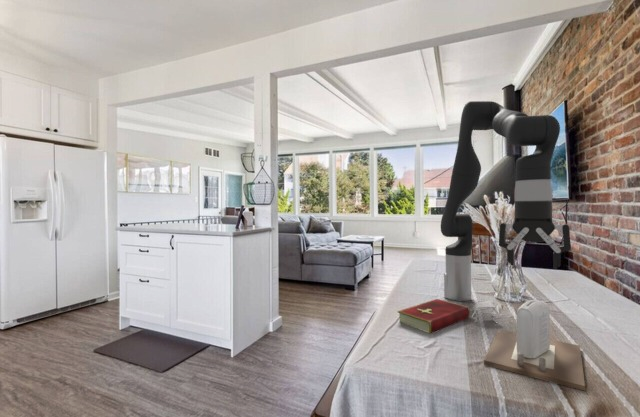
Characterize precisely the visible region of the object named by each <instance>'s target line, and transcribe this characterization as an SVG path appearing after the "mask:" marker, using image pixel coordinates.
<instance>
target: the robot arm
mask: <svg viewBox="0 0 640 417" xmlns="http://www.w3.org/2000/svg"><path fill="white" fill-rule="evenodd" d="M459 123H460V124H459V133H458V141H457V142H458V143H457V147H456V148H457V149H456V153H455V157H454V158H455V159H454V162H453V167H452V170H451V177H450V184H449V187H448V188H449V189H448V194H447V199H446V201H445V202H446V203H445V206H444V210H443V213H442V216H441V221H440V232H441V235H442V236H443V237H445V238H458V239H457V240H456V241H455V242H454V243H452V244H449V245H447V246H445V250H444V252H445V273H444V274H443V282H444V283H443V284H444V285H443V287H444V288H443V289H444V291H443V295H444V296H443V298H446V299H448V300H452V301H455V302H456V301H457V302H458V301H459V302H468V301H471V300H472V247H473V233H474V232H473V231H474V230H473V229H474V228H473V227H474V224H473V219H472V217H471V215H470V214H468V213H463V212H462V213H458V211H459V208H460V207H461V205H462V204H463V203H464V202H465V201H466V199H467V198H469V197H470V195H472V194H473V192H475V189H476V188H477V186H478V185H479V181H480V177H481V172H482V165H481V162H480V160H479V157H478V156H477V153H476V152H475V149H474V146H473V142H472V135H473V131H488V130H493V131H494V132H495V133H496V134H497V135H499V136H501V137H503V138H505V139H506V141H507V142H508V143H509V145H511V146H515V147H533V146H534V147H535V150H534V152H533V153H532V154H529V155H528V154H527V155H524V156H521V157H518V158H517V159H516V160H515V186H514V221H513V223H507V222H502V223H500V224H499V234H498V235H499V237H498V246H499V247H500V248H504V249H505V250H506V252H507V254H506V255H507V258H506V259H507V263H510V266H515V263H516V262H515V261H516V257H515V256H516V253H515V249H514V248H515V247H516V246H517V244H519V243H520V241H521V240H523V241H524V242H535V243H543V242H545V243H546V244H547V245H548V246H549V247H550V248H551V249H552V250H553V253H552V261H553V262H552V264H553V265H552V269H553V270H558V268H560V267H561V264H562V259H561V258H562V257H561V256H562V253H565V252H570V251H572V250H571V249H572V246H571V234H570V225H569V224H567V223H564V224H554V223H553V195H554V194H553V186H552V181H551V179H552V177H551V175H552V174H551V173H552V172H551V166H552V165H551V163H552V160H553V155H554V151H555V148H556V145H557V144H558V143H557V142H558V139H559V138H560V137H559V136H560V133H561V132H560V131H561V126H560V122H559V120H558V119H557V118H556V117H555V116H553V115H550V114H549V115H548V114H544V115H528V114H527V113H524V112H522V111H517V110H511V109H508V108H505V107H504V106H502V105H501V104H500V103H498V102H495V101H490V100H487V101H486V100H477V101H475V100H473V101H472V100H471V101H468V102H466V103H465V104H464V106H463V109H462V112H461V117H460V122H459ZM511 229H513V231H514V233H516V236H515V237H514V238H513V239H512V240H511V242H510V243H509V242H506V241H507V233H509V232H510V231H511ZM555 230H557V231H558V233H559V234H560V235H562V236H563V245H558V243H556V241H555V240H554V239H553V238H552V237H551V236H550V235H551V234H552V233H553V232H554V231H555Z"/></svg>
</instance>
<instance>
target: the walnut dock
mask: <svg viewBox="0 0 640 417" xmlns="http://www.w3.org/2000/svg"><path fill="white" fill-rule="evenodd" d="M483 365H485V366H489V367H493V368H497V369H500V370H505V371H508V372H511V373H516V374H519V375H523V376H526V377H530V378H535V379H539V380H541V381H547V382H550V383H553V384H557V385H561V386H565V387H569V388H572V389H575V388H576V390H579V389H580V390H581V391H583V390H584V391H586V383H585V376H584V369H583V359H582V353H581V345H579V344H573V343H569V342H563V341H558V340H554V339H550V348H549V350H548V351H546V352H544V353H543V354H541V355H540V356H538V357H536V358H531V359H530V358H526V357H524V354H522V353H517V332H513V331H508V330H503V329H498V330H497V332H496V334H495V336H494V338H493V341H492V342H491V344H490V347H489V349H488V351H487V352H486V355H485V357H484V359H483Z"/></svg>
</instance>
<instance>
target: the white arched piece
mask: <svg viewBox="0 0 640 417" xmlns="http://www.w3.org/2000/svg"><path fill="white" fill-rule="evenodd" d="M483 309H485V310H486V309H492V310H491V311H490V315H491V316H493V318H492V320H493V321H494V322H495V323H496V324H498V321H497V320H496V319H498V318H501V317H502V316H501V315H500V313H499V312H498V311H497V310H496V306H495V305H494V304H493V301H492V300H485V301H480V302H475V304H474V306H473V307H472V310H473V313H472V314H471V316H470V317H471V318H473V319H475V321H474V323H477V321H478V313H477V311H478V310H483ZM493 312H495V314H497V315H496V316H495V315H494V314H493ZM474 315H476V316H474Z"/></svg>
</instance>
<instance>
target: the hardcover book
mask: <svg viewBox="0 0 640 417" xmlns="http://www.w3.org/2000/svg"><path fill="white" fill-rule="evenodd" d="M397 313H399V323H401V322H402V323H401V324H403V323H405V324H404V325H406V324H407V325H406V326H409V325H410V326H409V327H412V328H414V327H415V328H414V329H417V328H418V329H417V330H420V331H422V330H423V331H422V332H426V333H427V334H429V335H432V334H434V333H437V332H438V331H440V330H442V329H446V328H449V327H450V326H453V325H455V324H458V323H461V322H462V321H464V320H467V319H469V318H470V317H471V316H470V313H471V312H470V307H469V306H466V305H463V304H458V303H455V302H451V301H447V300H443V299H439V298H435V299H433V300H428V301H425V302H422V303H419V304H417V305H416V304H415V305H413V306H410V307H406V308H404V309H400V310H397Z"/></svg>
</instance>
